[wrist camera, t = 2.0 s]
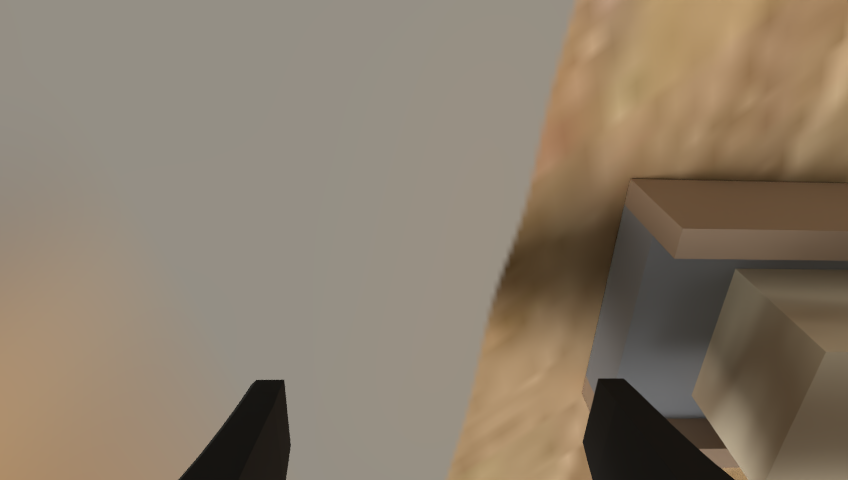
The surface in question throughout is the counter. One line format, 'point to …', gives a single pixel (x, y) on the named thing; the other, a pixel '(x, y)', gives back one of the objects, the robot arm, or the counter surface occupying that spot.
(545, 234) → the counter surface
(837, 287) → the maple block
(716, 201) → the board
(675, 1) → the counter surface
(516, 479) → the counter surface
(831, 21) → the counter surface
